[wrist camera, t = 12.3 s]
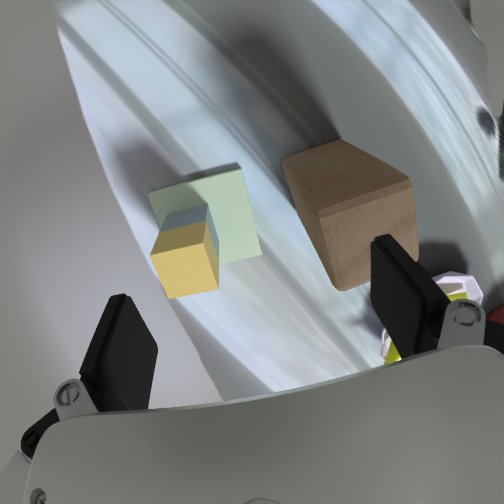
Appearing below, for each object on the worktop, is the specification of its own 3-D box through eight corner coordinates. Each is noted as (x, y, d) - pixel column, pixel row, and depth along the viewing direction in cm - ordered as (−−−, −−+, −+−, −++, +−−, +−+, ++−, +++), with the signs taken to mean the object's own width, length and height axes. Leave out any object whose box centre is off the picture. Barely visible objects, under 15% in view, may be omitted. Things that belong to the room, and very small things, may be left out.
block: (277, 157, 43) (313, 210, 25) (342, 136, 42) (415, 175, 24) (298, 217, 48) (337, 297, 30) (357, 197, 47) (422, 264, 29)
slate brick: (166, 214, 45) (158, 232, 40) (208, 204, 44) (205, 220, 39) (179, 251, 48) (174, 272, 43) (219, 242, 48) (218, 262, 42)
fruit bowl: (475, 245, 53) (507, 273, 43) (456, 333, 67) (476, 362, 57) (362, 280, 55) (385, 320, 45) (361, 367, 68) (376, 404, 58)
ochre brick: (159, 232, 40) (149, 255, 34) (206, 220, 39) (203, 242, 34) (175, 272, 43) (168, 298, 37) (219, 262, 42) (218, 288, 37)
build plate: (148, 192, 44) (147, 194, 43) (241, 167, 43) (241, 169, 42) (178, 270, 51) (177, 273, 50) (261, 251, 50) (261, 254, 49)
